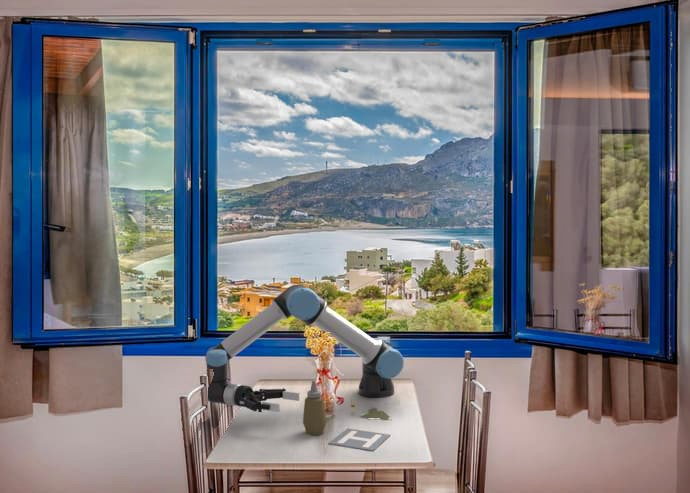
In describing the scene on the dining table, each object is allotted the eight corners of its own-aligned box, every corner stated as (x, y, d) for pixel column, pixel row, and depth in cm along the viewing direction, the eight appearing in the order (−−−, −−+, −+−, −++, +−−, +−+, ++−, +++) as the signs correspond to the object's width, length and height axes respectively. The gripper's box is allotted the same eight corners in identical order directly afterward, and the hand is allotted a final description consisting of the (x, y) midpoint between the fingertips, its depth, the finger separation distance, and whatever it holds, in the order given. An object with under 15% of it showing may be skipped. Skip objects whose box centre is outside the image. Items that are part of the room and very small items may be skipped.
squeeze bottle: (319, 438, 202) (318, 385, 201) (298, 434, 205) (297, 382, 204) (330, 430, 209) (329, 379, 208) (309, 427, 213) (309, 377, 212)
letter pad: (347, 429, 210) (347, 428, 210) (390, 435, 203) (390, 434, 203) (328, 443, 197) (328, 443, 197) (373, 451, 190) (373, 450, 190)
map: (369, 428, 212) (369, 425, 212) (354, 412, 229) (354, 410, 229) (398, 425, 215) (398, 422, 215) (381, 409, 232) (381, 407, 232)
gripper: (258, 396, 232) (306, 402, 222) (218, 415, 209) (270, 423, 200) (257, 377, 231) (306, 382, 222) (217, 394, 209) (269, 401, 200)
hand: (289, 402), depth 211 cm, fingers open, 13 cm apart
